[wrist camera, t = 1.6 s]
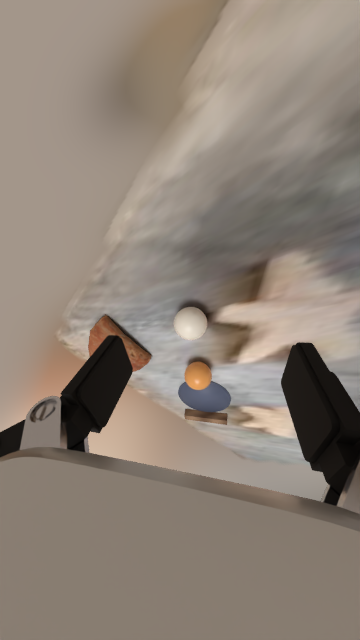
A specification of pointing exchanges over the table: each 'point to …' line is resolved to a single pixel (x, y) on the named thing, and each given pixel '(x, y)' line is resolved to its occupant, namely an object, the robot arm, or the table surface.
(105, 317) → the ceramic shard
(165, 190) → the table surface
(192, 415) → the stopper rail
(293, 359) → the robot arm
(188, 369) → the object ball
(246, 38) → the table surface
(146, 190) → the table surface
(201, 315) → the cue ball
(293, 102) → the table surface
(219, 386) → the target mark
